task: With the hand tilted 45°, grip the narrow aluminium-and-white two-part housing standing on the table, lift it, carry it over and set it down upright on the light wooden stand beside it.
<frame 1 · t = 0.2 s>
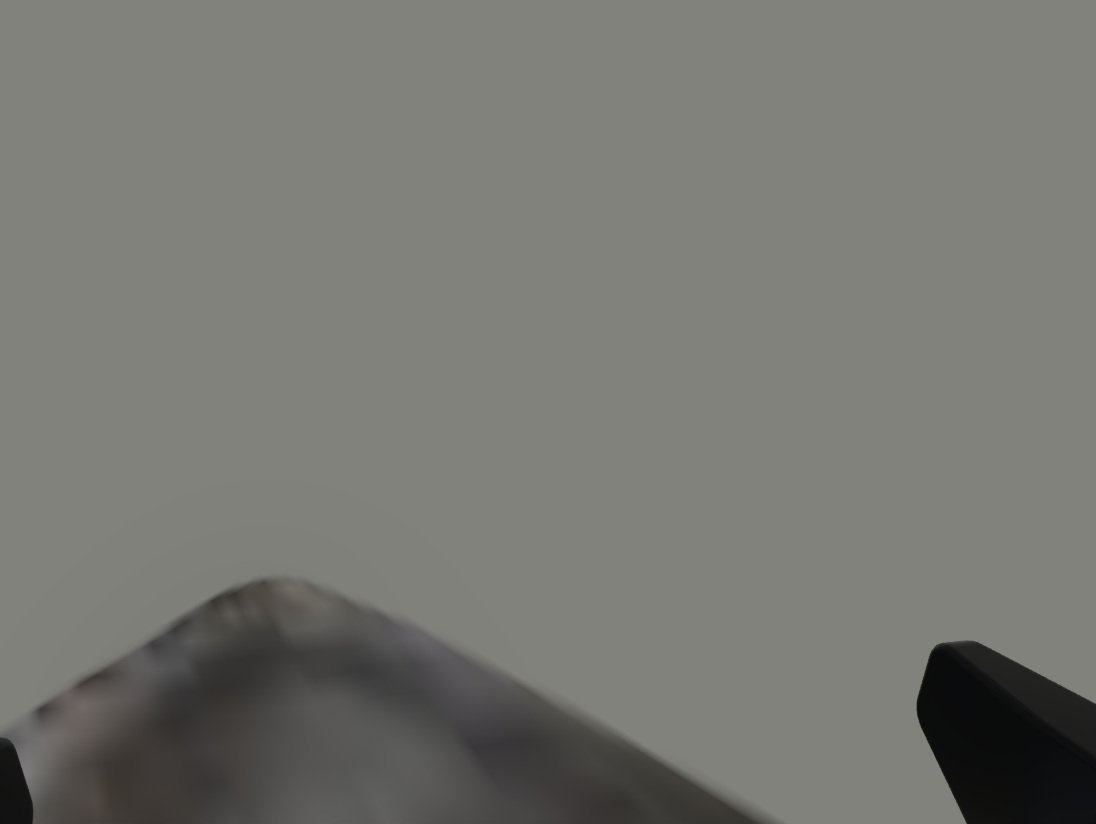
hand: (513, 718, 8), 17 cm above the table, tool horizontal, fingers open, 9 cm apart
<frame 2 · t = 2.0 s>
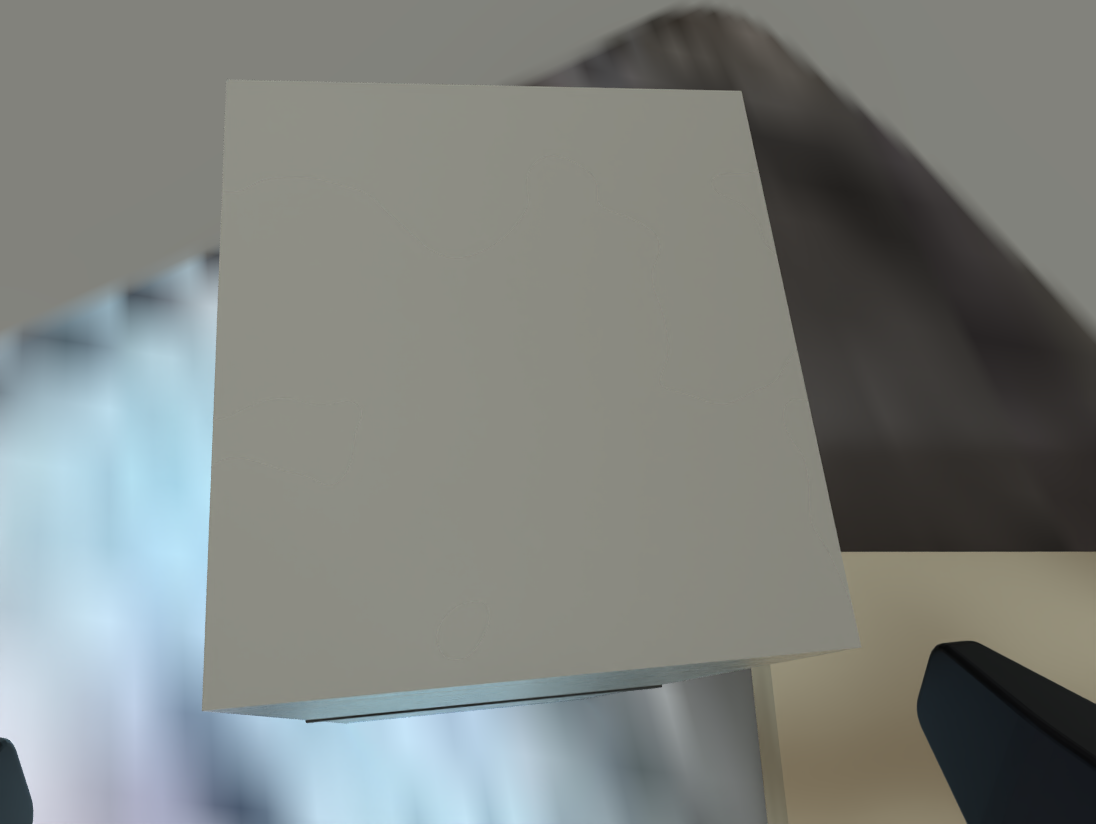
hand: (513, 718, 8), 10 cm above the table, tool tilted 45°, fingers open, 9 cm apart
housing: (458, 581, 19), on the table
stand: (949, 804, 19), on the table
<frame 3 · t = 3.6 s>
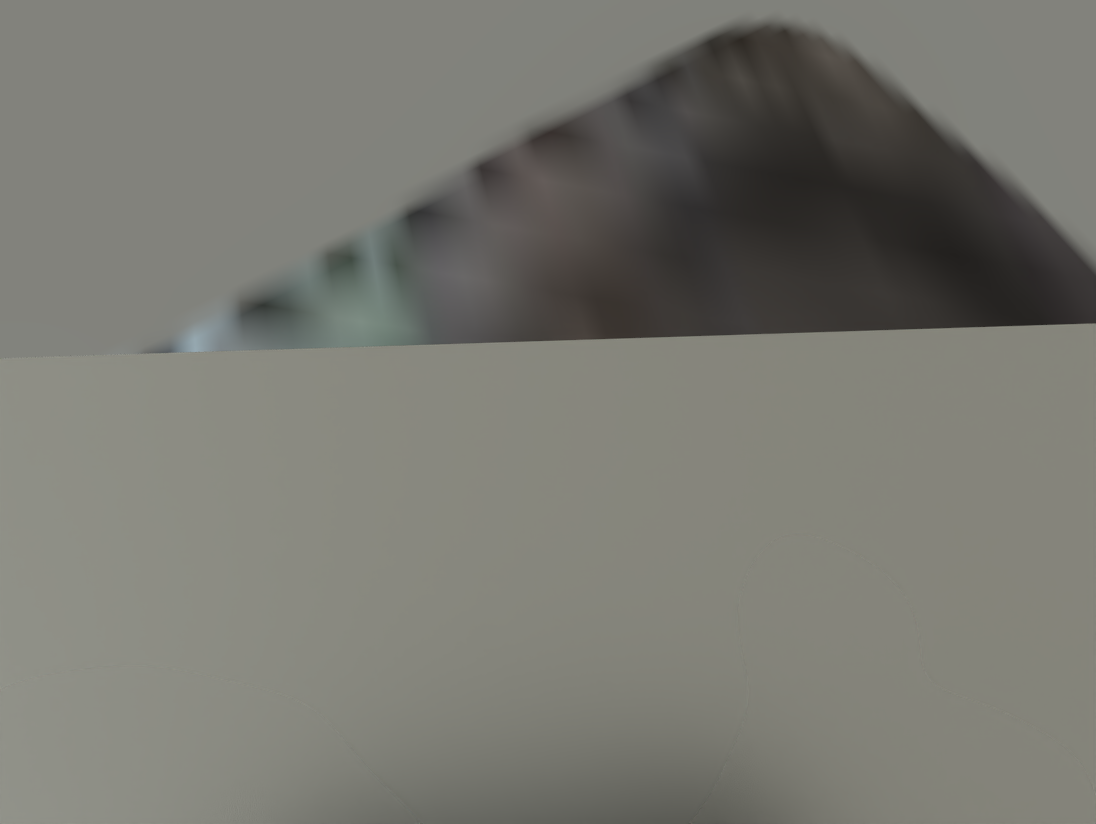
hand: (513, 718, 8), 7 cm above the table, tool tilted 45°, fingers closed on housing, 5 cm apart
housing: (478, 809, 14), on the table, touching gripper
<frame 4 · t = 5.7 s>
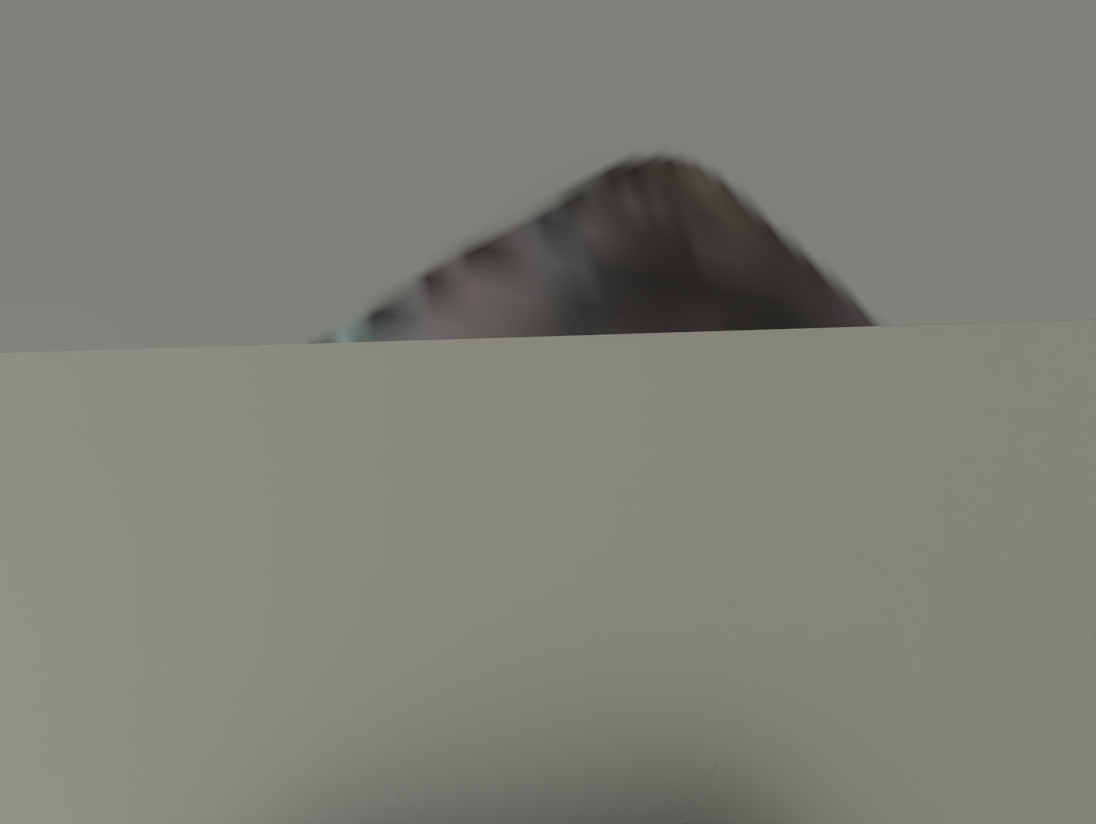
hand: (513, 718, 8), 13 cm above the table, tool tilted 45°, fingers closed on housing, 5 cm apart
housing: (477, 808, 14), point 7 cm above the table, touching gripper
when the fingers open (11 cm above the table, at t = 7.8 s): housing drops 1 cm, resting on stand.
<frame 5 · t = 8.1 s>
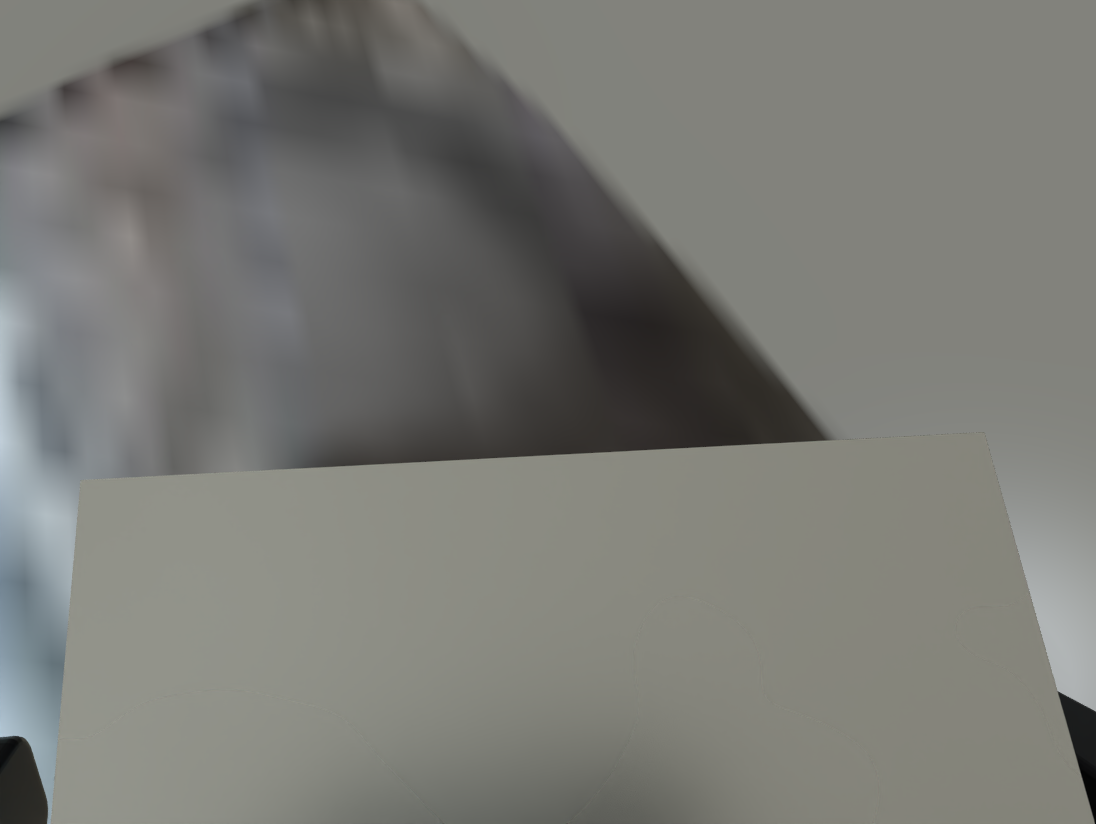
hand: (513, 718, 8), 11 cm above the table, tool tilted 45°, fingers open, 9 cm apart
housing: (471, 801, 15), point 3 cm above the table, touching stand
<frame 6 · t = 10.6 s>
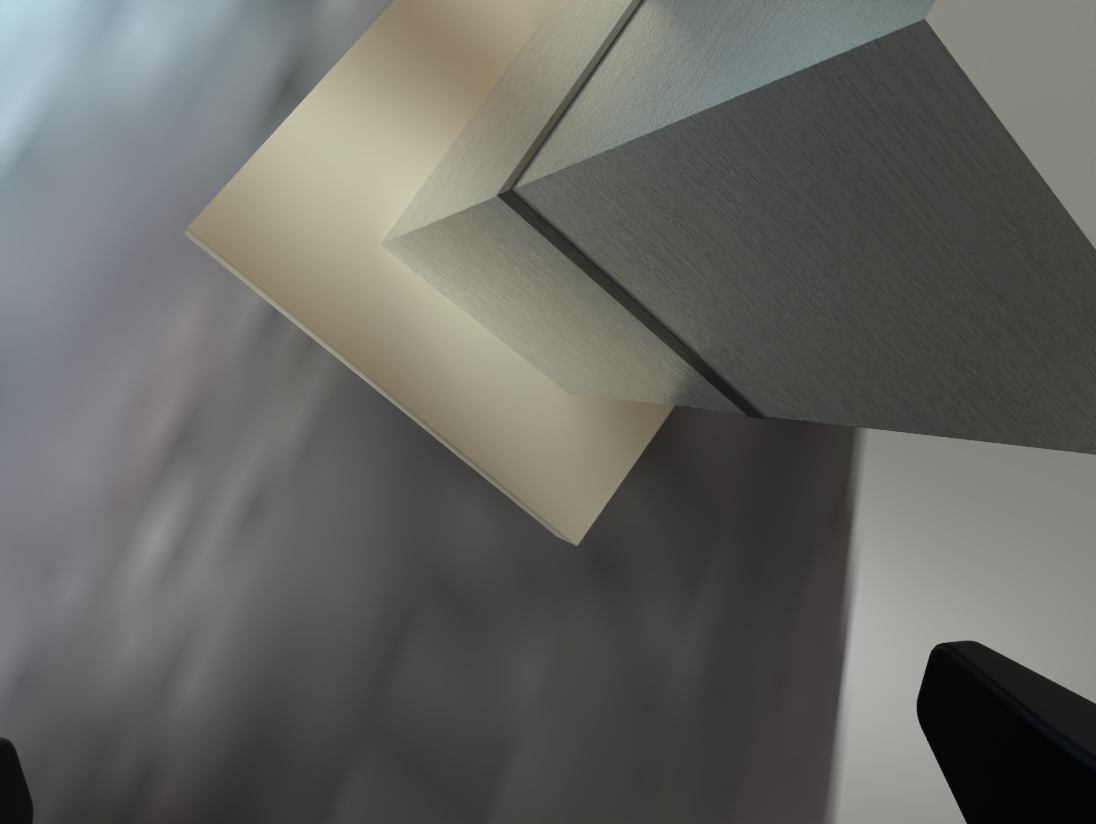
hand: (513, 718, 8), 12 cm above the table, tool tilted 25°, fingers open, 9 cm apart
housing: (551, 217, 18), point 3 cm above the table, touching stand
stand: (497, 234, 20), on the table
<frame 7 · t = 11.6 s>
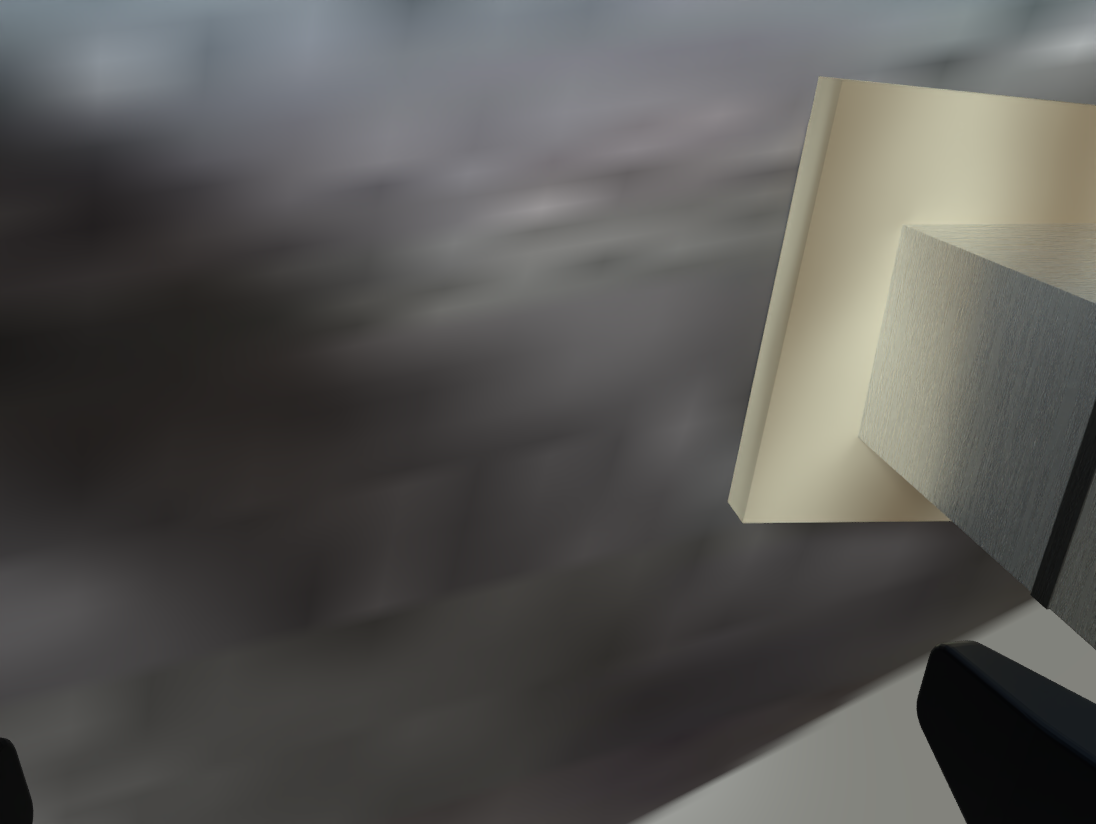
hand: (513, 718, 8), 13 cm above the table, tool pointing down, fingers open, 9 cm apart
housing: (989, 333, 19), point 3 cm above the table, touching stand
stand: (915, 295, 22), on the table
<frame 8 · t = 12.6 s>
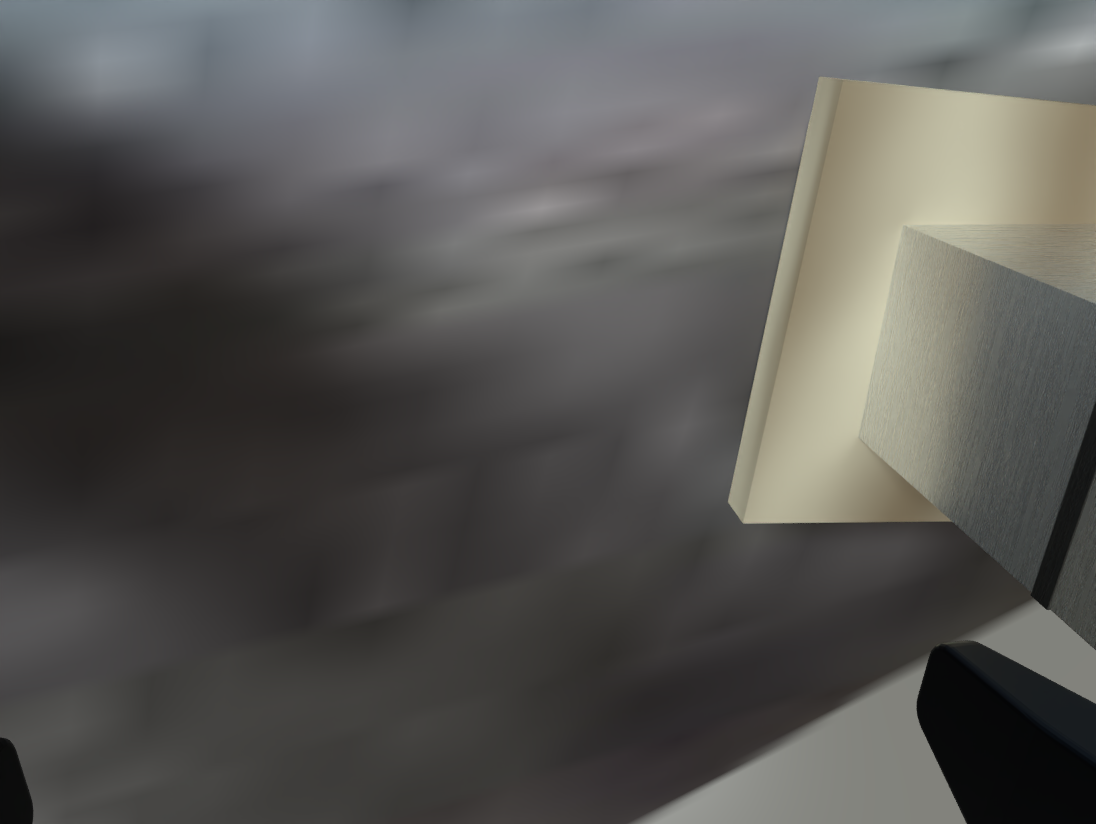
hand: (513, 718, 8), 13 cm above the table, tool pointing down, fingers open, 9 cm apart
housing: (989, 333, 19), point 3 cm above the table, touching stand
stand: (916, 295, 22), on the table
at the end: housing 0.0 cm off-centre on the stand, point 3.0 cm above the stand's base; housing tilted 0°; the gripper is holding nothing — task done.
